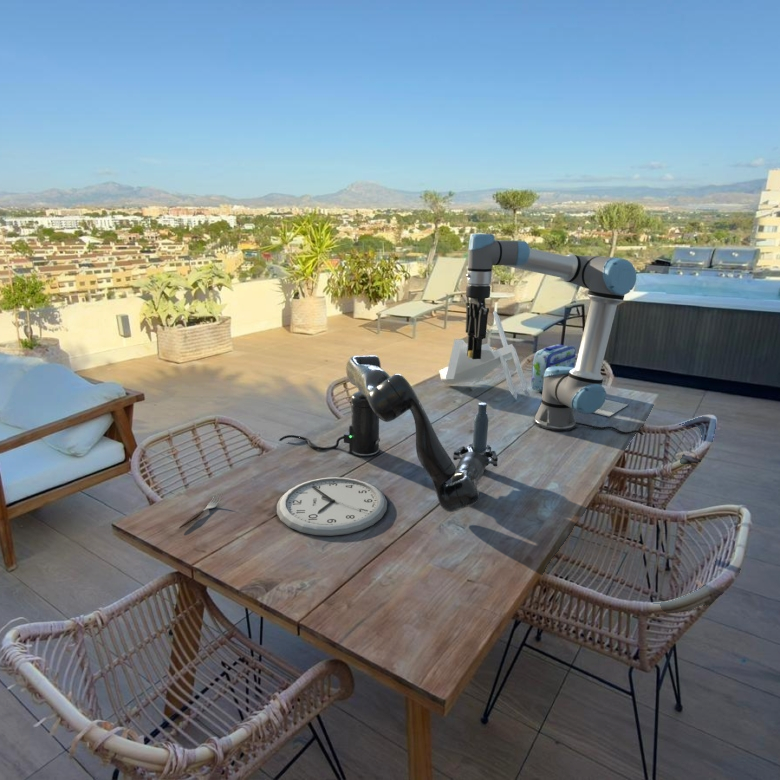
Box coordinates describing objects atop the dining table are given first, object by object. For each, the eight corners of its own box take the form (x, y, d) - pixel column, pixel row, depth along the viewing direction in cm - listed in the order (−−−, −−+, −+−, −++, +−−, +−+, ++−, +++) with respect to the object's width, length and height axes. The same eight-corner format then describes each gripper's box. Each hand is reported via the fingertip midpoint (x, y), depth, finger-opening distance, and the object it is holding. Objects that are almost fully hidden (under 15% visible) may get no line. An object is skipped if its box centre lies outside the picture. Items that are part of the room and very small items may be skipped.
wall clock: (392, 527, 129) (268, 531, 127) (391, 533, 130) (269, 537, 127) (383, 473, 158) (282, 475, 155) (383, 478, 158) (282, 480, 156)
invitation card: (608, 416, 214) (573, 407, 224) (608, 416, 214) (573, 408, 224) (628, 404, 229) (594, 396, 238) (628, 405, 229) (594, 397, 238)
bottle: (468, 468, 166) (473, 402, 160) (479, 465, 168) (484, 401, 162) (475, 473, 163) (480, 406, 156) (487, 471, 164) (492, 405, 158)
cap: (476, 358, 169) (477, 353, 168) (466, 357, 171) (466, 351, 170) (481, 356, 172) (481, 350, 171) (470, 354, 174) (471, 349, 173)
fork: (174, 529, 130) (174, 521, 130) (216, 499, 144) (215, 492, 144) (183, 531, 129) (182, 524, 129) (223, 501, 144) (223, 494, 143)
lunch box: (547, 397, 237) (552, 352, 231) (526, 391, 245) (531, 348, 238) (574, 386, 255) (580, 344, 249) (554, 381, 262) (559, 340, 256)
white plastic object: (461, 429, 252) (437, 405, 227) (444, 352, 274) (420, 323, 250) (535, 404, 240) (518, 377, 215) (510, 326, 262) (492, 293, 237)
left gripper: (496, 461, 147) (504, 439, 163) (446, 453, 152) (459, 432, 167) (494, 485, 149) (502, 461, 165) (445, 476, 154) (458, 454, 169)
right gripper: (458, 282, 171) (454, 351, 178) (477, 287, 156) (472, 364, 163) (479, 282, 173) (474, 351, 180) (501, 287, 157) (495, 363, 164)
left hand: (480, 446), depth 166 cm, fingers closed on bottle, 4 cm apart
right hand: (473, 357), depth 171 cm, fingers closed on cap, 4 cm apart
